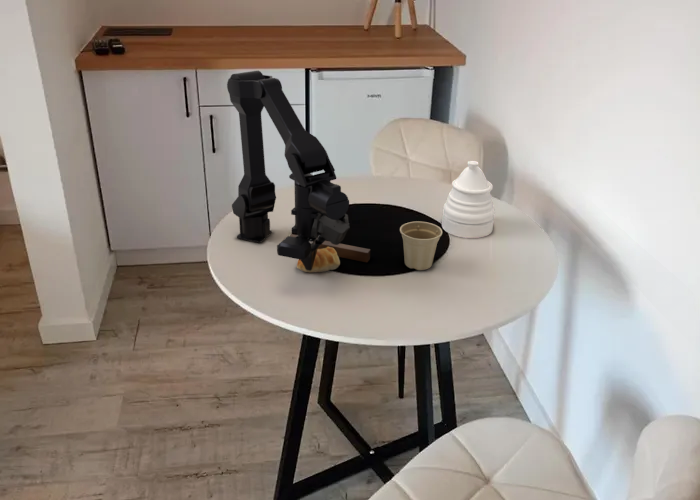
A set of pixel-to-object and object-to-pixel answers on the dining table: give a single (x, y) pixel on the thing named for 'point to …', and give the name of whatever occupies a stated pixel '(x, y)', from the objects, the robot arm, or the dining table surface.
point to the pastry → (322, 261)
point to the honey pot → (469, 205)
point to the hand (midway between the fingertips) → (309, 269)
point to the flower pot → (420, 243)
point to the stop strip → (347, 251)
